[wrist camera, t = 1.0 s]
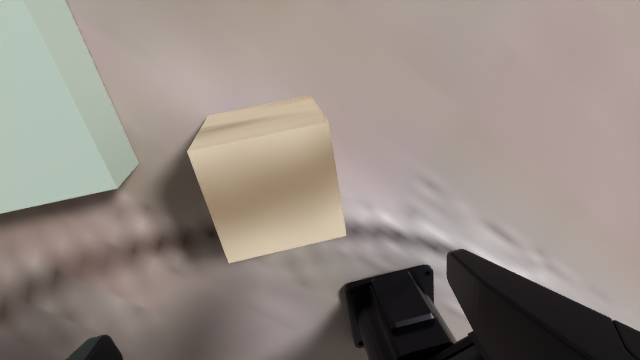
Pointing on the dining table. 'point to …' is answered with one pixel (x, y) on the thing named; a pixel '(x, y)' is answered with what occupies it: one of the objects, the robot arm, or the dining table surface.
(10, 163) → the platform
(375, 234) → the dining table surface
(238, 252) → the maple cube
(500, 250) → the dining table surface
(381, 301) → the robot arm
